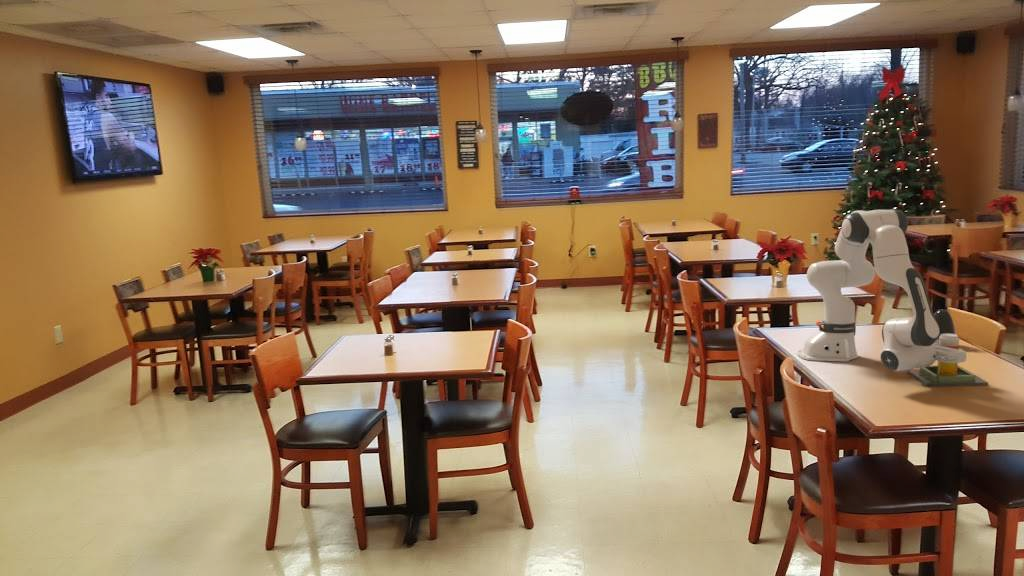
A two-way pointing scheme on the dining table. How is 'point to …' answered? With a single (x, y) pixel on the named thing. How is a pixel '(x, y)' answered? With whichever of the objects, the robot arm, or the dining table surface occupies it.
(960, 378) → the green and grey tray
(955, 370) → the beer can
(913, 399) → the dining table surface
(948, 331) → the dark grey egg shape
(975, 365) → the dining table surface
